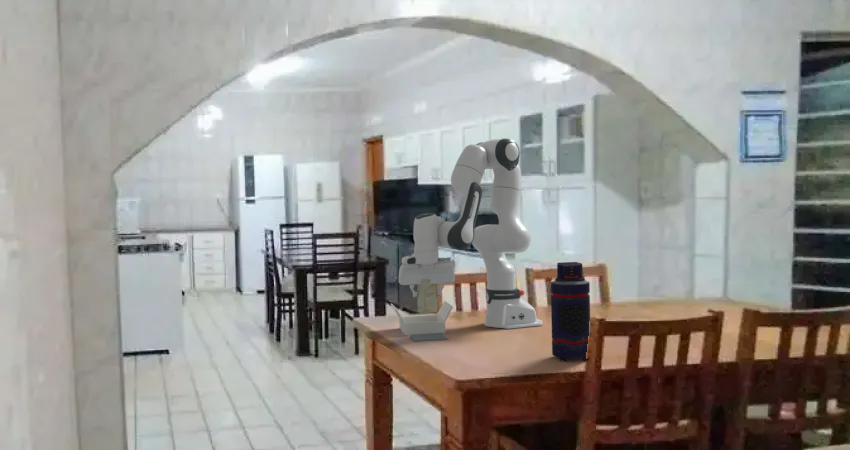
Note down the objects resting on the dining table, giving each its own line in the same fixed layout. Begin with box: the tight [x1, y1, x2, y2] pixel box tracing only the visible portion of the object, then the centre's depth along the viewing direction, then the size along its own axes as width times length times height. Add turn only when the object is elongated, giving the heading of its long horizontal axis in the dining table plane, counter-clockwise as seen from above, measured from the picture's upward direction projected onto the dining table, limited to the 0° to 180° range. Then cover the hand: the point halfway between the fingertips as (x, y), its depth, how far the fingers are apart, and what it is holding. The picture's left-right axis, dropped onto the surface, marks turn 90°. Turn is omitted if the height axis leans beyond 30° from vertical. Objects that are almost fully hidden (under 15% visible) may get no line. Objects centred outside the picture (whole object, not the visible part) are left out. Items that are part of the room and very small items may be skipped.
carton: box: [390, 300, 454, 336], centre depth 304 cm, size 22×15×10 cm
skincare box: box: [416, 279, 438, 314], centre depth 289 cm, size 6×4×12 cm
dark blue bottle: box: [550, 261, 591, 363], centre depth 251 cm, size 14×12×30 cm
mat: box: [409, 333, 448, 343], centre depth 290 cm, size 12×10×1 cm
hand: (427, 296), depth 289 cm, fingers closed on skincare box, 7 cm apart
